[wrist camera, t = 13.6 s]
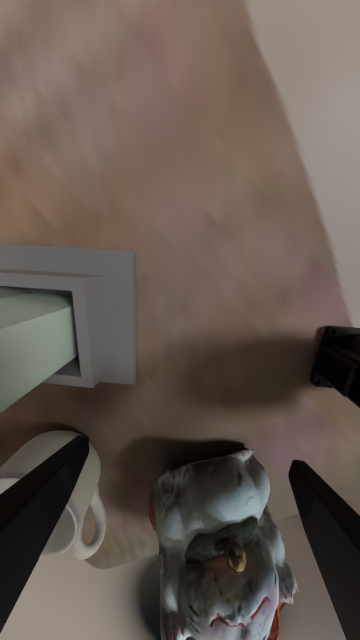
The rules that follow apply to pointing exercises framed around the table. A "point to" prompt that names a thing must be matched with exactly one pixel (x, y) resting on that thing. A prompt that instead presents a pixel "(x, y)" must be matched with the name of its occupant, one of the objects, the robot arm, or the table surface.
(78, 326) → the grey square socket base
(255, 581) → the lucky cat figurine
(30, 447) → the teacup
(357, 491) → the table surface
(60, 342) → the sage block
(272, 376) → the table surface
